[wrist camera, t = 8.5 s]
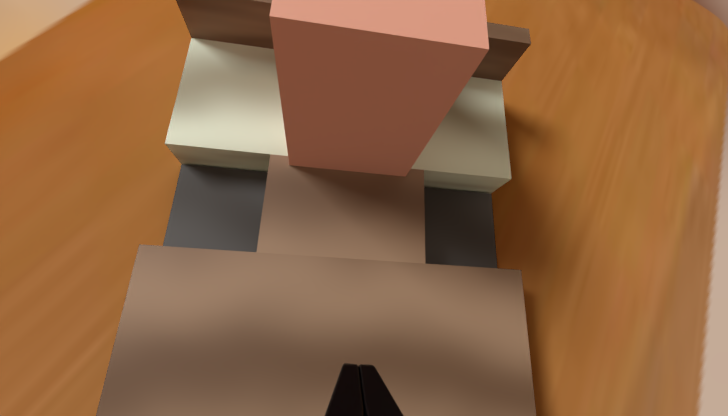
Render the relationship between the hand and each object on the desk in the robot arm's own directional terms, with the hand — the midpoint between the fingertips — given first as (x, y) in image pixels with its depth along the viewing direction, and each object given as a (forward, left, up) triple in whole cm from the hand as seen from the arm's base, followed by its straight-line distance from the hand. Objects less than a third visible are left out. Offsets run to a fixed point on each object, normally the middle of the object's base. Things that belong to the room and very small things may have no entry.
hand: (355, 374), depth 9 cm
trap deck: (+4, -3, -9) cm, 10 cm away
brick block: (+11, -6, -6) cm, 14 cm away
